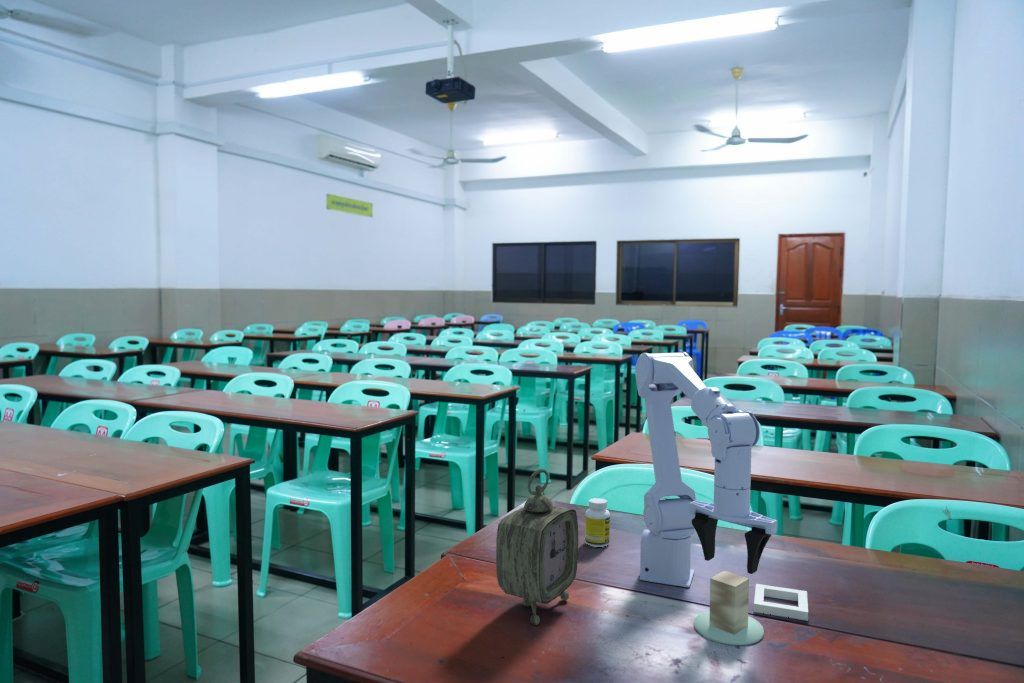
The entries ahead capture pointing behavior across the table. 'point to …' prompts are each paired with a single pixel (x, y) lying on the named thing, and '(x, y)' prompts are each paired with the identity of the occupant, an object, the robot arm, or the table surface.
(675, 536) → the robot arm
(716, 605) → the maple block
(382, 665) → the table surface
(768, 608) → the frame
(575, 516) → the tabletop clock
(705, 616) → the coaster
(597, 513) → the supplement bottle
